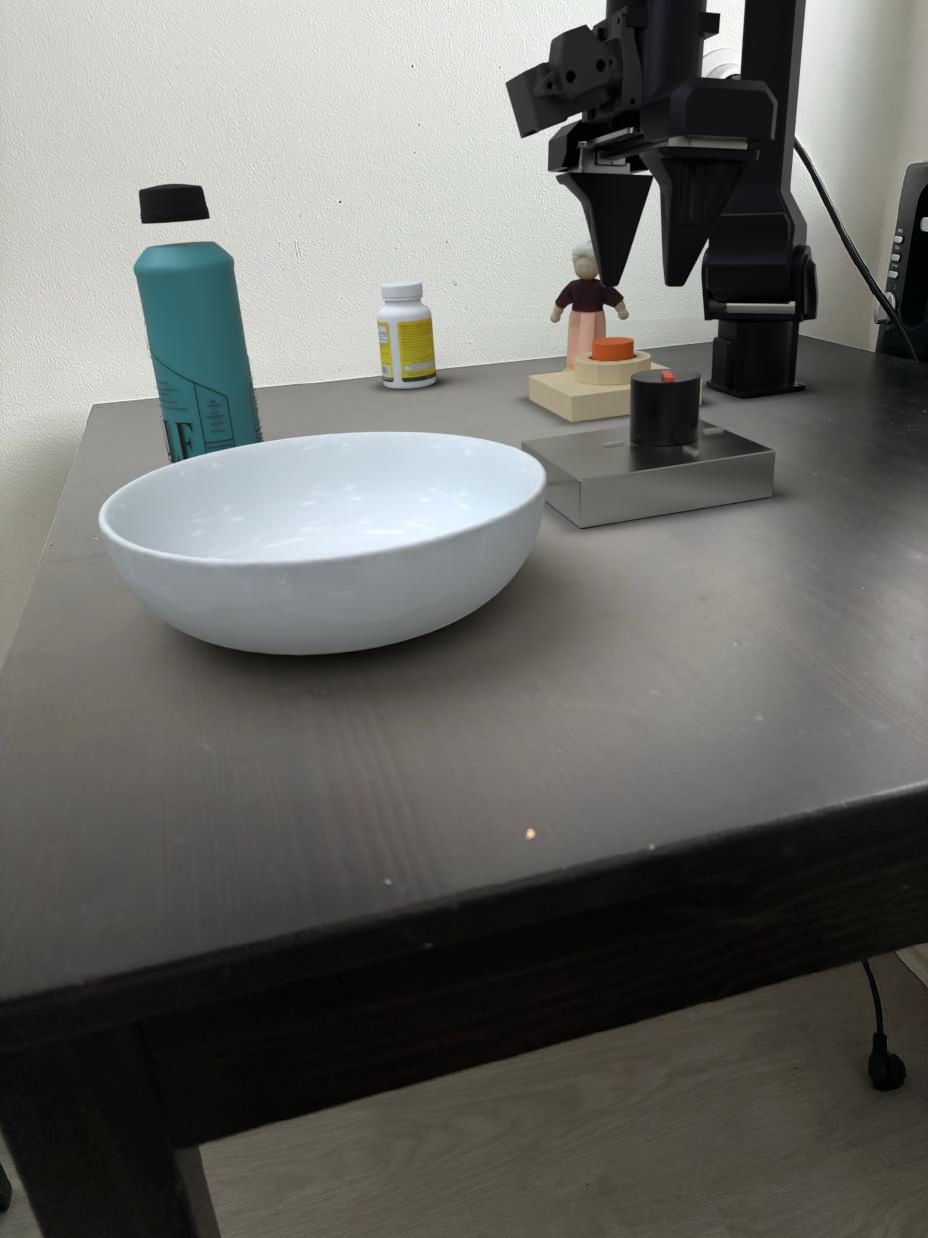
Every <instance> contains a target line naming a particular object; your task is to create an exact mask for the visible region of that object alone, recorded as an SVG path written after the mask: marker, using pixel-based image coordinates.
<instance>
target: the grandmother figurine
mask: <svg viewBox="0 0 928 1238" xmlns="http://www.w3.org/2000/svg"><path fill="white" fill-rule="evenodd" d="M571 261H572V264H573V265H572V266H573V270H574V272H575V276H577V277H578V278H577V279H573V280H571V281H570V282H568V283H567V284H566V285H565V287H563V288H562V290H561V291H560V293H559V294H558V296H557V298H556V299H555V300H554V306H553V308H552V313H551V315H550V316H549V321H551V322H552V323H554V324H556V323H558V322H560V321H561V317H562V315H563V313H564V311H565V309H566V308H567V307H568V306H569V305H571V310H570V313H569V315H568V324H567V325H568V327H567V344H566V367H565V368H564V369H563V370H561V372H563V371H571V370H574V359H575V358H576V356H577V355H581V354H584V353H588V352H592V341H593V340H596V339H600V338H607V323H606V321H607V320H606V319H607V318H606V313H605V310H604V305H606V306H607V307H611V308H614V310H615V312H617V317H618V319H620V320H621V321H625V320H627V319H628V318H629V317H630V313H629V311H628V310H627V307H626V306H627V305H626V303H625V300H624V299H625V296H624V295H623V294H622V293H621V292H620V291H619V290H618V289H617V288H616V287H604V286H602V285H601V282H600V278H597V276H599V273H598V268H597V264H596V260H595V255H594V251H593V247H592V242H591V239H589V240H588V239H586V240H582V241H578V242H576V244H574V246H573V248H572V252H571Z"/></svg>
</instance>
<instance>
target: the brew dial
mask: <svg viewBox="0 0 928 1238" xmlns="http://www.w3.org/2000/svg"><path fill="white" fill-rule="evenodd" d="M701 377H702V374H701V373H700V372H698V371H696V370H692V369H684V368H670V369H653V370H645V371H640V372H637V373H634V374H632V375H631V377H630V414H629V426H630V439H631V440H632V441H634V442H636V443H640V444H645V445H654V446H671V445H680V444H686V443H689V442H692V441H695V440H696V439H697V438H698V432H699V419H700V381H701V379H702V378H701Z"/></svg>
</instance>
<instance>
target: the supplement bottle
mask: <svg viewBox="0 0 928 1238" xmlns="http://www.w3.org/2000/svg"><path fill="white" fill-rule="evenodd" d="M380 287H381V298H382V301H384V306H383V307H381V308H380V309H379V310H378V311H377V313H376V322H377V323H376V324H377V334H378V343H379V353H380V354H379V355H380V356H379V357H380V364H381V374H382V383H383V386H384V387H385V388H387V389H392V390H413V389H422V388H425V387H429V386H432V385H433V384H435V383H436V381H437V369H436V356H435V343H434V329H433V316H432V311H431V309H430V307H429V306H427V305H426V304H424V303H422V298H423V297H424V290H423V282H422V281H420V280H419V281H418V280H402V281H393V282H386V283H382V284H381V285H380Z"/></svg>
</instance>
